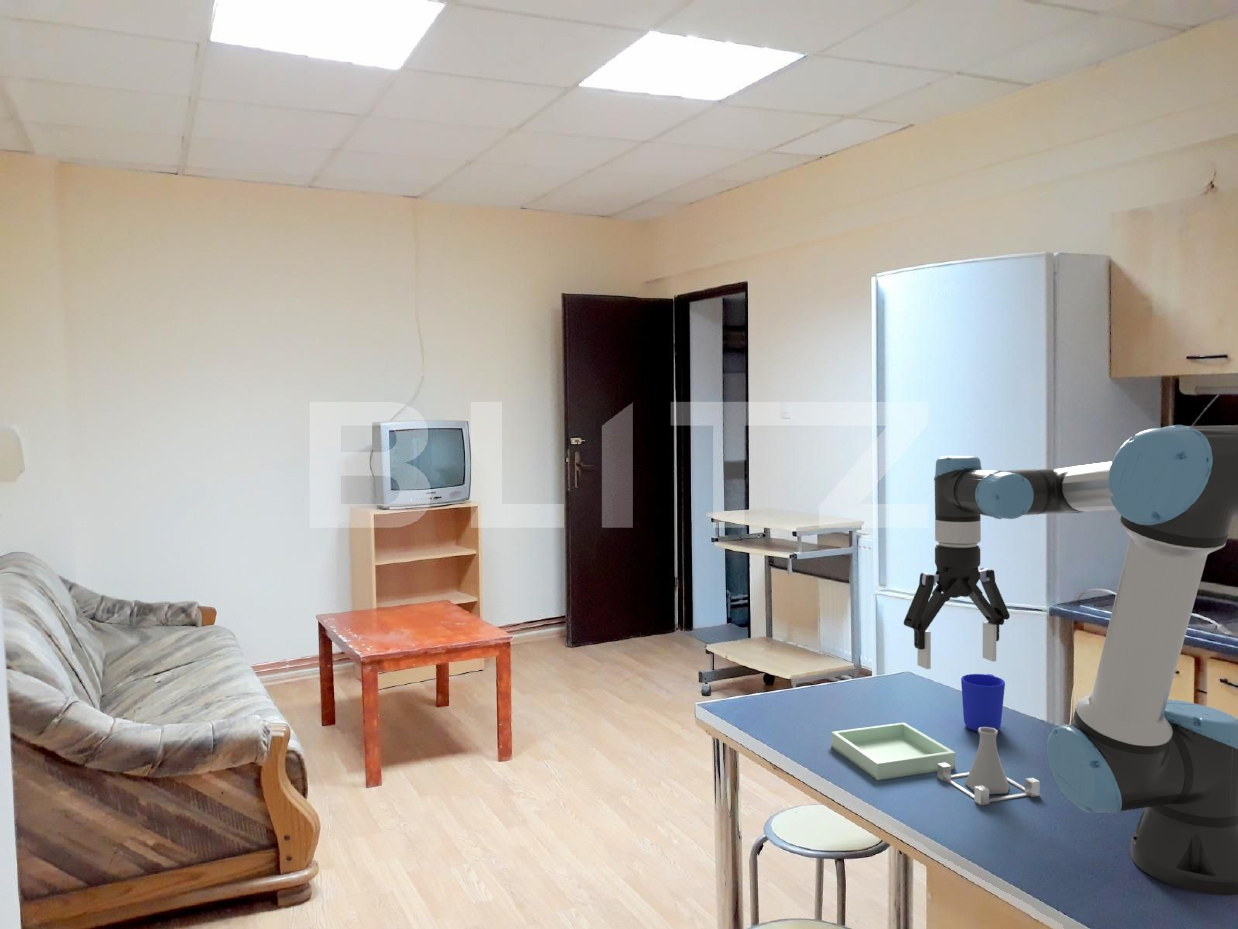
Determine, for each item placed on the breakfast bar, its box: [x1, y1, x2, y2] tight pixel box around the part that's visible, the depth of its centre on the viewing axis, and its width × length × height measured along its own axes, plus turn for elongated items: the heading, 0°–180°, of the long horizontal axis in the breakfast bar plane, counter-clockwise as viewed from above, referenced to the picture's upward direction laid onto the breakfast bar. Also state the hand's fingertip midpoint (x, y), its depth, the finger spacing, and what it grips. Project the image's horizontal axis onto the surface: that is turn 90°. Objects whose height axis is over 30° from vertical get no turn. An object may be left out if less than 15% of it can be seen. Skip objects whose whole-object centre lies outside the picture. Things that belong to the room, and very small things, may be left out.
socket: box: [937, 763, 1041, 806], centre depth 157 cm, size 12×12×2 cm
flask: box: [964, 727, 1010, 795], centre depth 157 cm, size 7×7×10 cm
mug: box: [960, 673, 1006, 733], centre depth 186 cm, size 8×12×10 cm
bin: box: [830, 722, 956, 781], centre depth 170 cm, size 16×16×3 cm
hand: (957, 663), depth 162 cm, fingers open, 13 cm apart
